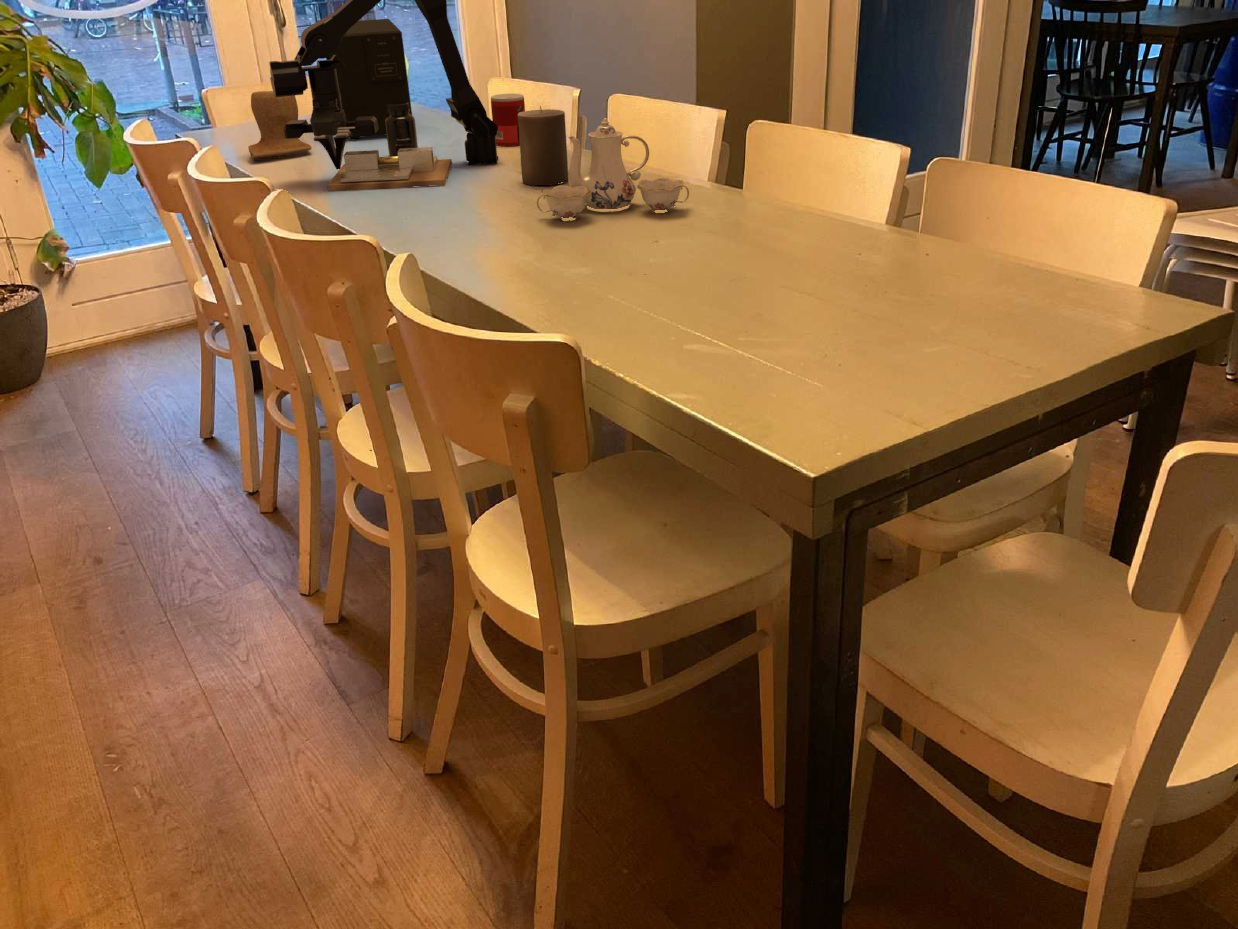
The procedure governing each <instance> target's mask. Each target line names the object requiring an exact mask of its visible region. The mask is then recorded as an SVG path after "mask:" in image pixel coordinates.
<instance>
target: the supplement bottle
mask: <svg viewBox="0 0 1238 929" xmlns="http://www.w3.org/2000/svg"><path fill="white" fill-rule="evenodd" d="M409 111H410V109H409V103H408V102H391V103H388V112H389V115H388V116H387V117H386V119H385V126H386V134H387V135H386V140H387V148H388V150H387V151H388V157H390V156H398V150H399V149H403V148H419V146H418V136H417V128H416V126H417V125H416V120H415V117H414V116H413V114H412V115H411V114H409Z"/></svg>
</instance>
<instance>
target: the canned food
mask: <svg viewBox="0 0 1238 929" xmlns="http://www.w3.org/2000/svg"><path fill="white" fill-rule="evenodd" d="M525 105H526V104H525V96H524V95H523V94H521V93H500V94H499V93H498V94H494V95H492V96H490V106H491V116H492V118H491V120H492V121H493V122H494V123H495V124H496V125H498V130H497V134H496V146H497V147H498V146H499V147H518V146H519V147H520V140H519V125H518V113H519V112H524V111H526V106H525Z"/></svg>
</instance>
